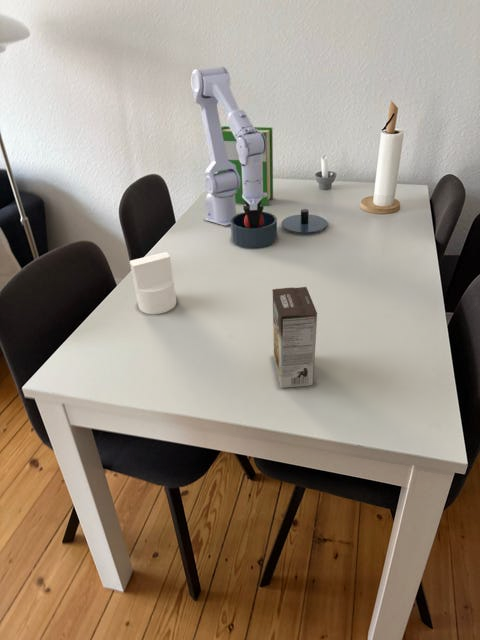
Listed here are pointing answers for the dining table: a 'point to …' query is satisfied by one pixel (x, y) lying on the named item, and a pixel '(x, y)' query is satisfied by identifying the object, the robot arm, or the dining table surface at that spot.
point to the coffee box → (294, 336)
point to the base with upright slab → (154, 283)
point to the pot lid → (304, 223)
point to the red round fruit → (261, 222)
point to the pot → (254, 232)
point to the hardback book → (234, 158)
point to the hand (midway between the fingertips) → (254, 224)
